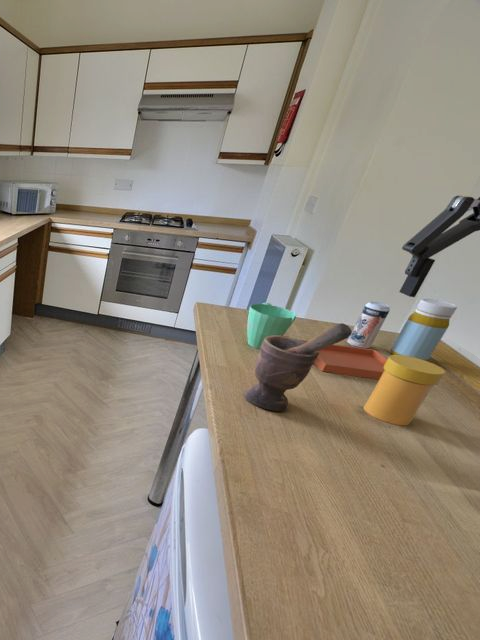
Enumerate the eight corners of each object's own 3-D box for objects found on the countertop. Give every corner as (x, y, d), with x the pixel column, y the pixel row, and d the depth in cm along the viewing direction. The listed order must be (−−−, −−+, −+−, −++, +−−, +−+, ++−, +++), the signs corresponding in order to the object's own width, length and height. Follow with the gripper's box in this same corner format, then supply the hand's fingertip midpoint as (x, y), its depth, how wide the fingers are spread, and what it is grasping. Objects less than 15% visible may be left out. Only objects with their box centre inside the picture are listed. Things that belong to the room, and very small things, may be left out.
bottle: (389, 357, 105) (419, 302, 99) (389, 348, 110) (418, 296, 103) (427, 366, 101) (461, 310, 95) (425, 357, 106) (458, 303, 99)
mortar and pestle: (315, 412, 80) (362, 318, 72) (302, 428, 75) (352, 330, 66) (250, 386, 88) (285, 299, 79) (234, 400, 83) (271, 308, 74)
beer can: (341, 341, 113) (362, 300, 108) (357, 341, 113) (377, 301, 108) (358, 349, 108) (380, 307, 103) (374, 349, 109) (396, 307, 104)
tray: (371, 356, 105) (375, 349, 104) (409, 384, 93) (414, 376, 92) (295, 346, 109) (298, 339, 108) (322, 371, 96) (325, 364, 95)
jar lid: (420, 368, 79) (426, 358, 78) (450, 388, 73) (457, 377, 72) (374, 362, 81) (379, 352, 80) (399, 381, 74) (405, 370, 73)
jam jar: (395, 408, 83) (423, 361, 78) (418, 428, 77) (451, 378, 72) (356, 402, 84) (381, 355, 80) (376, 421, 78) (405, 371, 74)
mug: (284, 357, 102) (300, 321, 97) (239, 348, 106) (252, 312, 101) (274, 336, 114) (288, 303, 109) (234, 329, 118) (246, 296, 113)
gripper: (614, 170, 62) (524, 302, 71) (416, 160, 67) (356, 284, 76) (677, 172, 55) (569, 317, 64) (452, 161, 60) (382, 297, 70)
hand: (453, 299), depth 70 cm, fingers open, 13 cm apart
